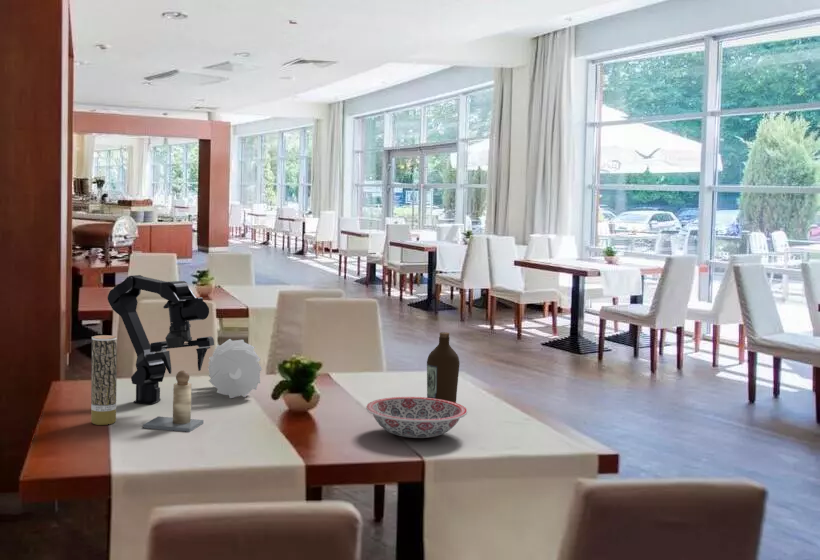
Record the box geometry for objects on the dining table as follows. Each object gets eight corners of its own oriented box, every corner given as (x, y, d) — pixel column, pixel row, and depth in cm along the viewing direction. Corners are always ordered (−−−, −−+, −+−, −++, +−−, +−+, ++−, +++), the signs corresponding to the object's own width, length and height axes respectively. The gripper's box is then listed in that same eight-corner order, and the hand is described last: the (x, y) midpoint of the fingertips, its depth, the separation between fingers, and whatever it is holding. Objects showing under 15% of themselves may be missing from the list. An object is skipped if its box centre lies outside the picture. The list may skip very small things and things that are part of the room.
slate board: (142, 428, 253) (142, 424, 253) (158, 419, 263) (158, 416, 263) (189, 431, 251) (189, 428, 251) (203, 423, 261) (203, 420, 260)
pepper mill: (169, 421, 257) (170, 370, 256) (183, 418, 261) (184, 368, 260) (179, 424, 254) (181, 373, 253) (194, 421, 258) (195, 371, 256)
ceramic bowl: (392, 453, 237) (393, 424, 237) (349, 427, 263) (349, 400, 262) (485, 443, 251) (486, 415, 250) (435, 419, 277) (436, 393, 276)
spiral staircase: (245, 396, 316) (248, 409, 291) (199, 375, 312) (198, 386, 287) (268, 350, 317) (273, 359, 292) (223, 328, 313) (224, 335, 289)
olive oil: (448, 404, 298) (452, 330, 296) (463, 411, 288) (466, 335, 286) (419, 405, 294) (422, 330, 291) (433, 413, 284) (436, 335, 282)
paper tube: (121, 422, 259) (122, 336, 256) (104, 427, 252) (104, 339, 250) (103, 418, 261) (104, 334, 259) (85, 423, 255) (86, 337, 253)
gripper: (140, 326, 267) (146, 378, 267) (202, 320, 266) (207, 372, 266) (153, 324, 278) (158, 374, 278) (212, 318, 277) (217, 368, 277)
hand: (184, 372), depth 275 cm, fingers open, 9 cm apart
